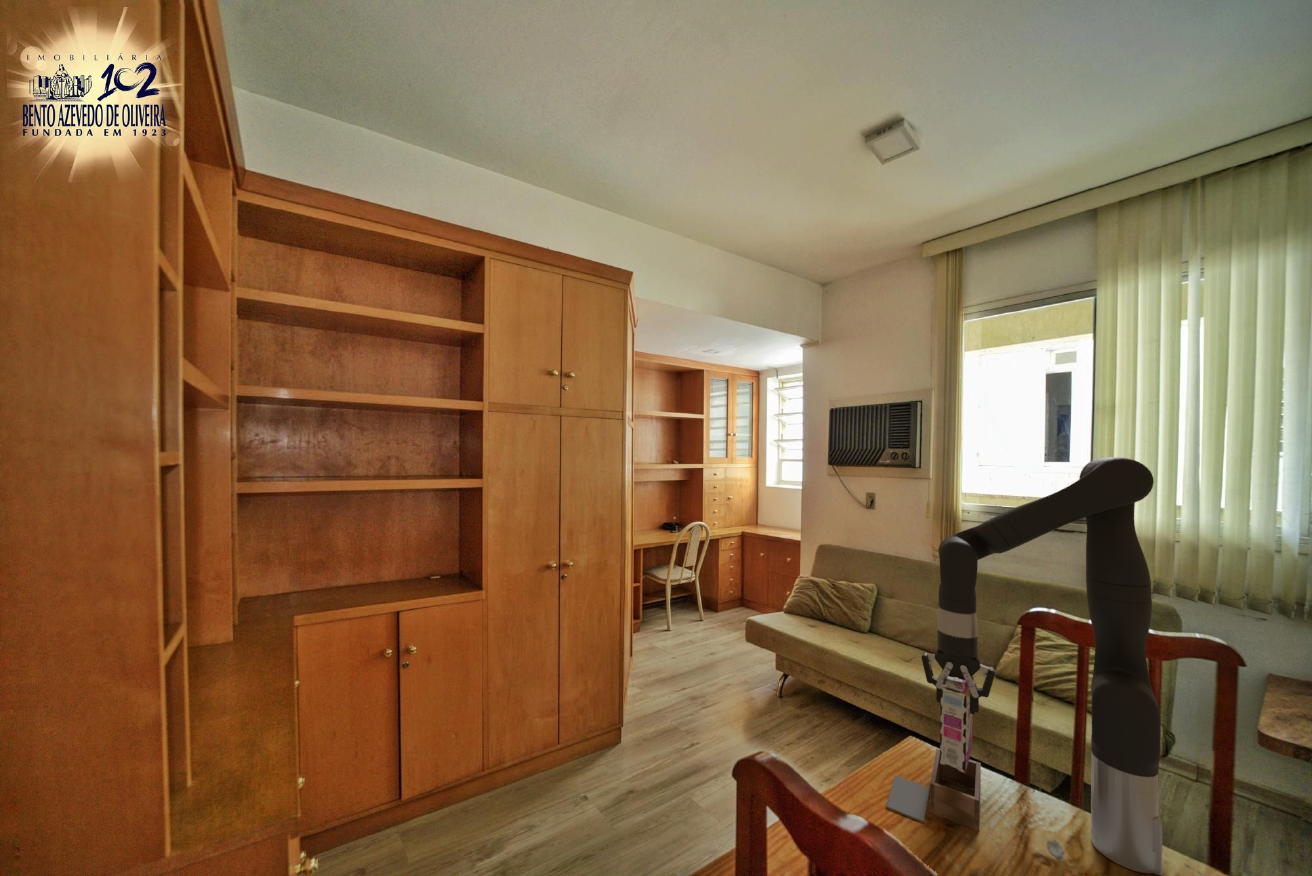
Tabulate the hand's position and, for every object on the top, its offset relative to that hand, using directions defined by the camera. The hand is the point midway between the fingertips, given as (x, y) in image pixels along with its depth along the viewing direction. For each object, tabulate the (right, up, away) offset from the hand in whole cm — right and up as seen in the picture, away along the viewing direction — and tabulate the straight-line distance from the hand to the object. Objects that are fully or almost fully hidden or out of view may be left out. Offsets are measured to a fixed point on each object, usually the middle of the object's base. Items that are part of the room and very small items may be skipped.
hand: (957, 708), depth 105 cm
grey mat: (-11, -20, 0) cm, 22 cm away
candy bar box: (0, -11, 0) cm, 11 cm away
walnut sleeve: (-1, -20, 0) cm, 20 cm away
